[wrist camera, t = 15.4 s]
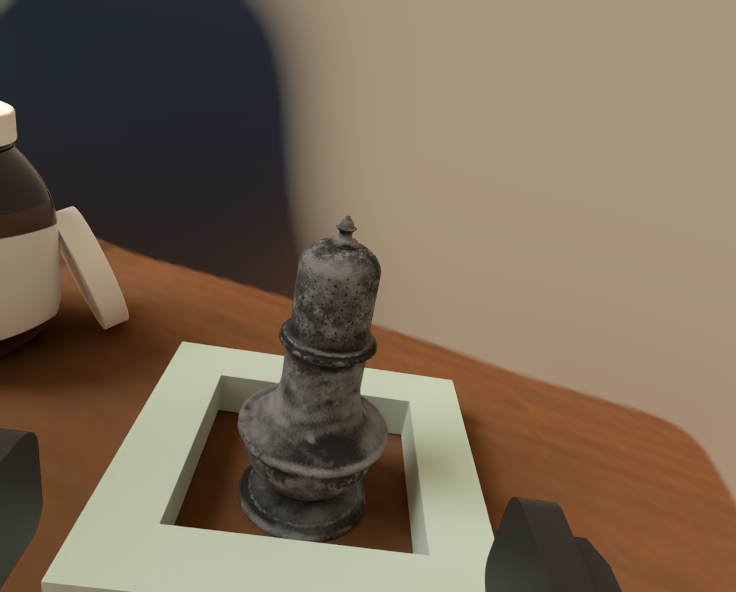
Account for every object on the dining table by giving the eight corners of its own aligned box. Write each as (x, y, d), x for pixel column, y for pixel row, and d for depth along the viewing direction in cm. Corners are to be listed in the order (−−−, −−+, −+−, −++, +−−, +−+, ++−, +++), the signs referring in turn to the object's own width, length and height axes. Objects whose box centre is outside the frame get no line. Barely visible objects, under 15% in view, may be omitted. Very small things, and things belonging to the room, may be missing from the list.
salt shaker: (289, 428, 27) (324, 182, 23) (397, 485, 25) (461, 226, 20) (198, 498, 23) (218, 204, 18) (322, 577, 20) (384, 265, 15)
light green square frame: (502, 675, 18) (519, 633, 17) (45, 628, 17) (41, 581, 16) (443, 411, 31) (452, 380, 30) (180, 374, 30) (182, 341, 29)
